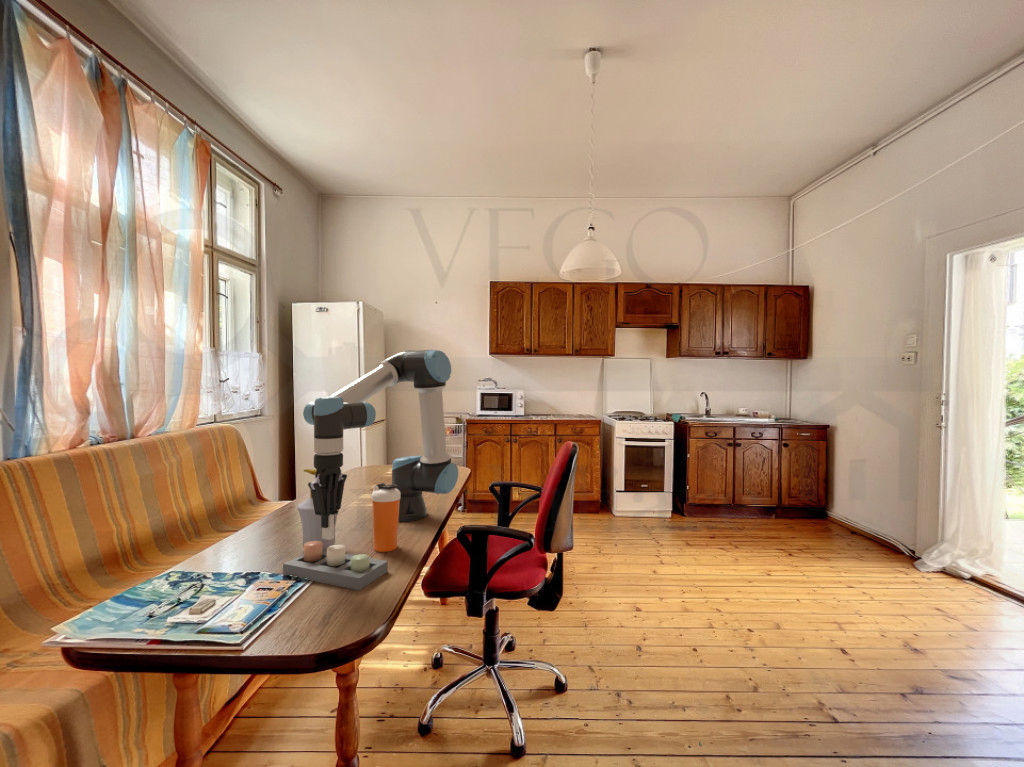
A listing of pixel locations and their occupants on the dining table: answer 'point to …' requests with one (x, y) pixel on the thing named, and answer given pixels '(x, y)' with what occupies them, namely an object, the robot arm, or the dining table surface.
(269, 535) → the dining table surface
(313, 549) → the brown egg
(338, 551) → the cream egg
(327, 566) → the panel
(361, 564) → the pale green rounded knob
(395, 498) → the shaker bottle
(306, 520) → the soap bottle
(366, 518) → the dining table surface
